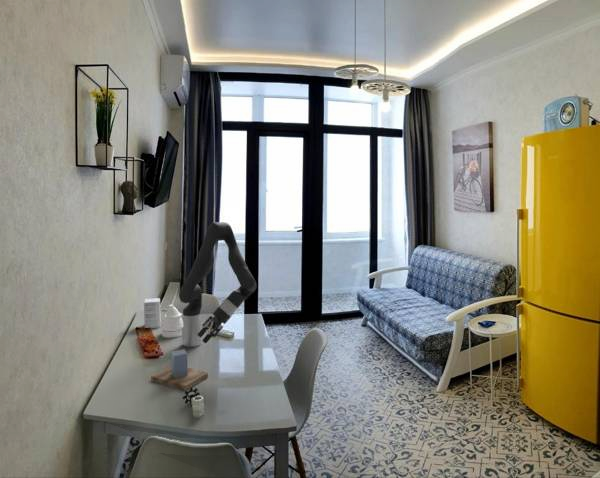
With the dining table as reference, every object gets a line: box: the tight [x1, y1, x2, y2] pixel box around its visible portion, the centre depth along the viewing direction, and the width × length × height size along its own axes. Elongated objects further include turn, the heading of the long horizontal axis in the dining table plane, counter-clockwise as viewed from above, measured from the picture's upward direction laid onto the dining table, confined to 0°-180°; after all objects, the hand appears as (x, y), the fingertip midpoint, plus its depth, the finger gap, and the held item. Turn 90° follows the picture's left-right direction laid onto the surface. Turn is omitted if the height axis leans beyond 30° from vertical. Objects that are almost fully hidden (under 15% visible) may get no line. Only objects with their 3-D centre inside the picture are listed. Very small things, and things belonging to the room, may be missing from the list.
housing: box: [170, 348, 189, 378], centre depth 174 cm, size 6×6×10 cm
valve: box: [181, 386, 205, 418], centre depth 148 cm, size 7×7×12 cm
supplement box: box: [143, 297, 162, 329], centre depth 246 cm, size 10×9×17 cm
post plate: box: [150, 365, 209, 391], centre depth 174 cm, size 20×14×6 cm
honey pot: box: [161, 304, 183, 339], centre depth 232 cm, size 13×13×18 cm
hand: (201, 339), depth 177 cm, fingers open, 8 cm apart
